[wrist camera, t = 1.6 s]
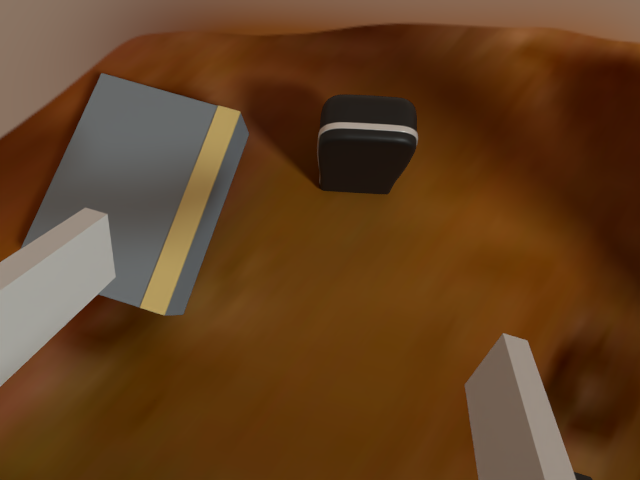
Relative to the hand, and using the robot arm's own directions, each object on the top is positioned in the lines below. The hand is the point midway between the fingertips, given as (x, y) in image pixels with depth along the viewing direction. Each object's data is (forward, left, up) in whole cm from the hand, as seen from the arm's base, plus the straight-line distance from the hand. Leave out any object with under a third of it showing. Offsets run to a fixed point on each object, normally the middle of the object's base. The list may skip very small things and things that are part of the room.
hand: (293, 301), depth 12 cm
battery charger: (0, -13, -21) cm, 25 cm away
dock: (+17, -5, -21) cm, 28 cm away
